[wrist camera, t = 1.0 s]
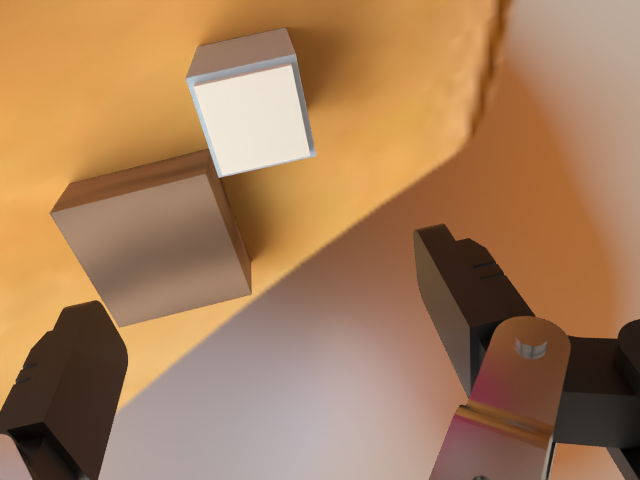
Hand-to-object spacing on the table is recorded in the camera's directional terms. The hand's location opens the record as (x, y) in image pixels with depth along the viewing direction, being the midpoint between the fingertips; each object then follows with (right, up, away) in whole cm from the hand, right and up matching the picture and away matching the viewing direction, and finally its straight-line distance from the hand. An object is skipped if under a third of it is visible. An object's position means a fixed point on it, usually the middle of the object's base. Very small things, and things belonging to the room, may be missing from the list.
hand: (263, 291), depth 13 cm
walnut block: (-9, +2, +21) cm, 23 cm away
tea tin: (-2, +10, +16) cm, 19 cm away
